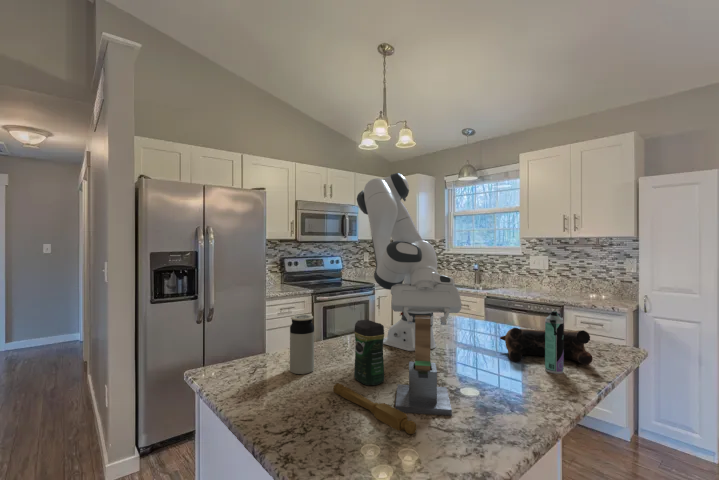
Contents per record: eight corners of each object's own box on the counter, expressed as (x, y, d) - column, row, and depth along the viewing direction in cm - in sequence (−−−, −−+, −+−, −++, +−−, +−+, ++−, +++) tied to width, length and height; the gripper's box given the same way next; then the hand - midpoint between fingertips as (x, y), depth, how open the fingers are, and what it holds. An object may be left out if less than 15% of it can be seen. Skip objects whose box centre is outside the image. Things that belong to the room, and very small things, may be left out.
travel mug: (318, 368, 124) (318, 315, 124) (305, 376, 117) (305, 320, 117) (298, 365, 127) (298, 313, 127) (284, 372, 120) (285, 317, 120)
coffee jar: (388, 383, 112) (388, 322, 112) (366, 388, 107) (367, 325, 107) (371, 373, 120) (371, 316, 120) (350, 377, 116) (350, 319, 116)
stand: (397, 389, 107) (397, 357, 107) (446, 392, 105) (446, 359, 105) (395, 411, 93) (395, 374, 93) (451, 415, 91) (451, 377, 91)
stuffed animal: (598, 326, 125) (575, 320, 149) (502, 328, 133) (495, 321, 157) (603, 365, 123) (579, 352, 147) (506, 365, 131) (498, 352, 155)
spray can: (565, 374, 119) (566, 313, 119) (547, 373, 120) (548, 312, 120) (560, 368, 124) (560, 310, 124) (542, 367, 126) (543, 309, 126)
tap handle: (341, 381, 106) (419, 420, 83) (341, 391, 106) (419, 434, 83) (332, 383, 104) (410, 424, 81) (332, 394, 104) (410, 438, 81)
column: (414, 369, 101) (415, 315, 101) (429, 370, 101) (430, 315, 101) (414, 375, 97) (415, 318, 97) (430, 376, 97) (430, 318, 96)
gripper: (390, 277, 112) (389, 316, 102) (459, 278, 109) (464, 318, 100) (391, 290, 116) (390, 328, 106) (456, 291, 114) (461, 330, 104)
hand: (426, 323), depth 103 cm, fingers open, 8 cm apart
